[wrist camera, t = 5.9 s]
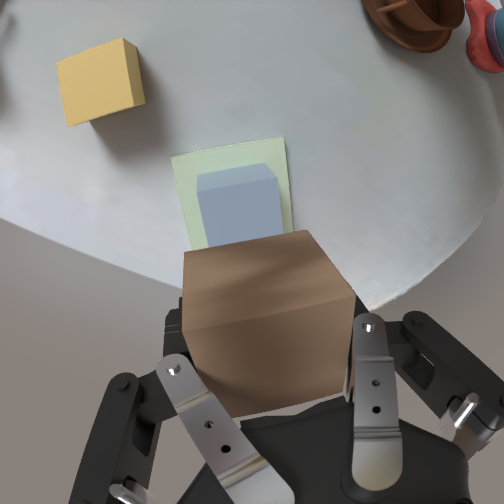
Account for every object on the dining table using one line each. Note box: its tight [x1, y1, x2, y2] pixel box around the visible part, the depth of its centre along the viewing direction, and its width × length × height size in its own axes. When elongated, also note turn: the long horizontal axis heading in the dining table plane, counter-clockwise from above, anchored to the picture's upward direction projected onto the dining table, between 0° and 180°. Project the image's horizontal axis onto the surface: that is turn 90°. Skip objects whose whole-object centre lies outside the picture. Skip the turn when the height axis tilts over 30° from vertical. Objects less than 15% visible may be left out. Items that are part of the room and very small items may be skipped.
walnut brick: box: [182, 230, 356, 418], centre depth 13 cm, size 6×6×5 cm
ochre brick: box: [56, 38, 146, 128], centre depth 19 cm, size 6×6×5 cm
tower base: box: [170, 137, 293, 251], centre depth 26 cm, size 10×10×6 cm
